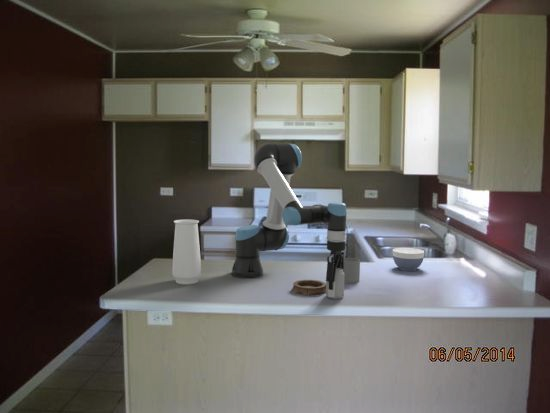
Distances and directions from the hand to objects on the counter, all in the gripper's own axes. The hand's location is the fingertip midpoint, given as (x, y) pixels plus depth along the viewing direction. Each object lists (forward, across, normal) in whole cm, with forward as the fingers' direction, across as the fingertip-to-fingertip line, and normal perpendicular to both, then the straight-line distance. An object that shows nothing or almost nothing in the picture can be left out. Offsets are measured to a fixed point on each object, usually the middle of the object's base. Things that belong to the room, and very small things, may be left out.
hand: (334, 294), depth 219 cm
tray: (+1, +4, +13) cm, 14 cm away
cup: (+1, +29, +3) cm, 29 cm away
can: (+1, 0, 0) cm, 1 cm away
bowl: (+1, +67, -15) cm, 69 cm away
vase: (+1, -10, +68) cm, 69 cm away
